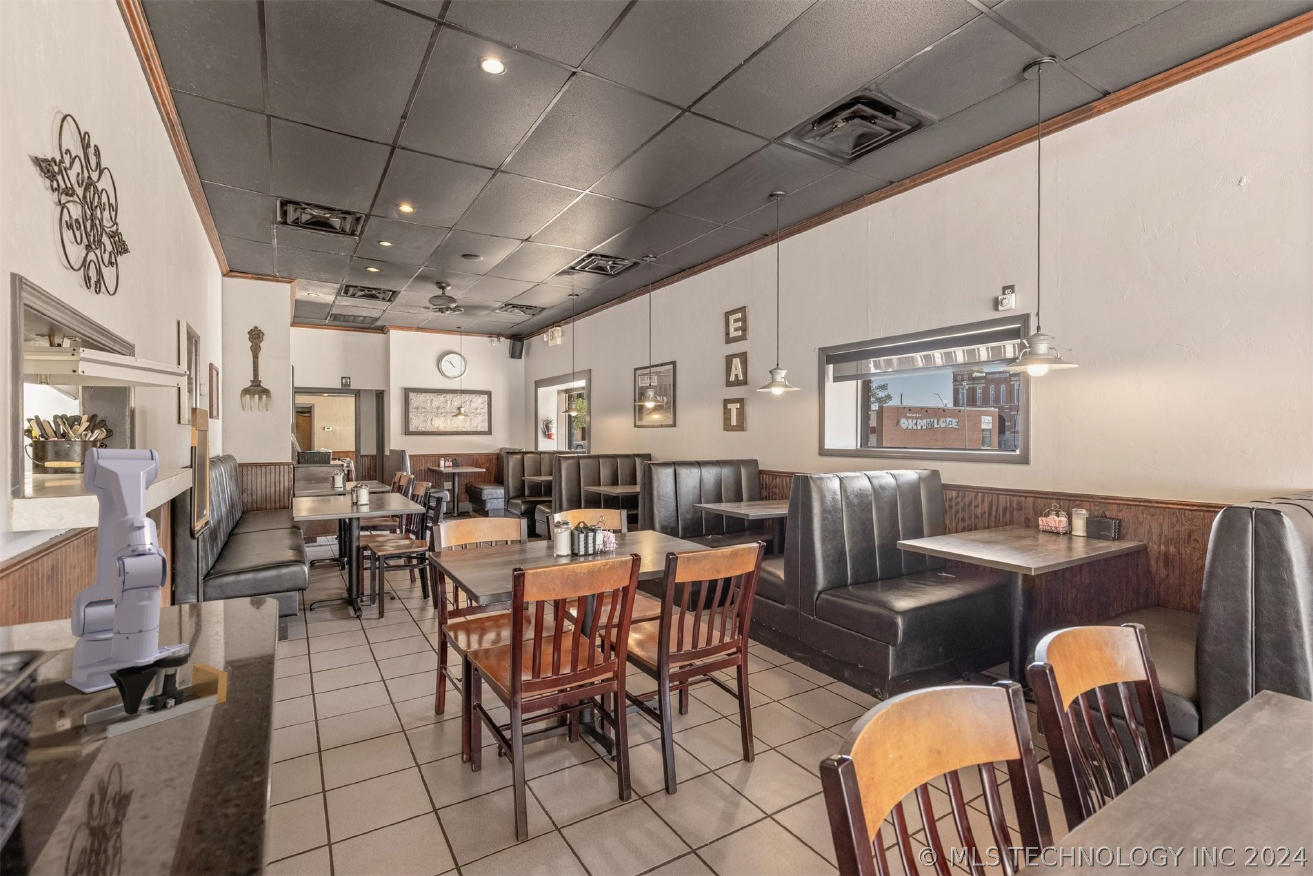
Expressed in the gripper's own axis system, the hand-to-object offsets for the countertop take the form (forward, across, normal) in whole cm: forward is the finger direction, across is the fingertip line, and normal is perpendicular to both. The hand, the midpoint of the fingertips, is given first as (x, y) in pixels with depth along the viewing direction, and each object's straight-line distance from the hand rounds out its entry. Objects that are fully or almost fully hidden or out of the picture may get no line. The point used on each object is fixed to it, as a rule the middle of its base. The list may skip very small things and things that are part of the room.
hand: (131, 712), depth 98 cm
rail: (+1, +3, 0) cm, 3 cm away
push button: (+1, +4, 0) cm, 4 cm away
